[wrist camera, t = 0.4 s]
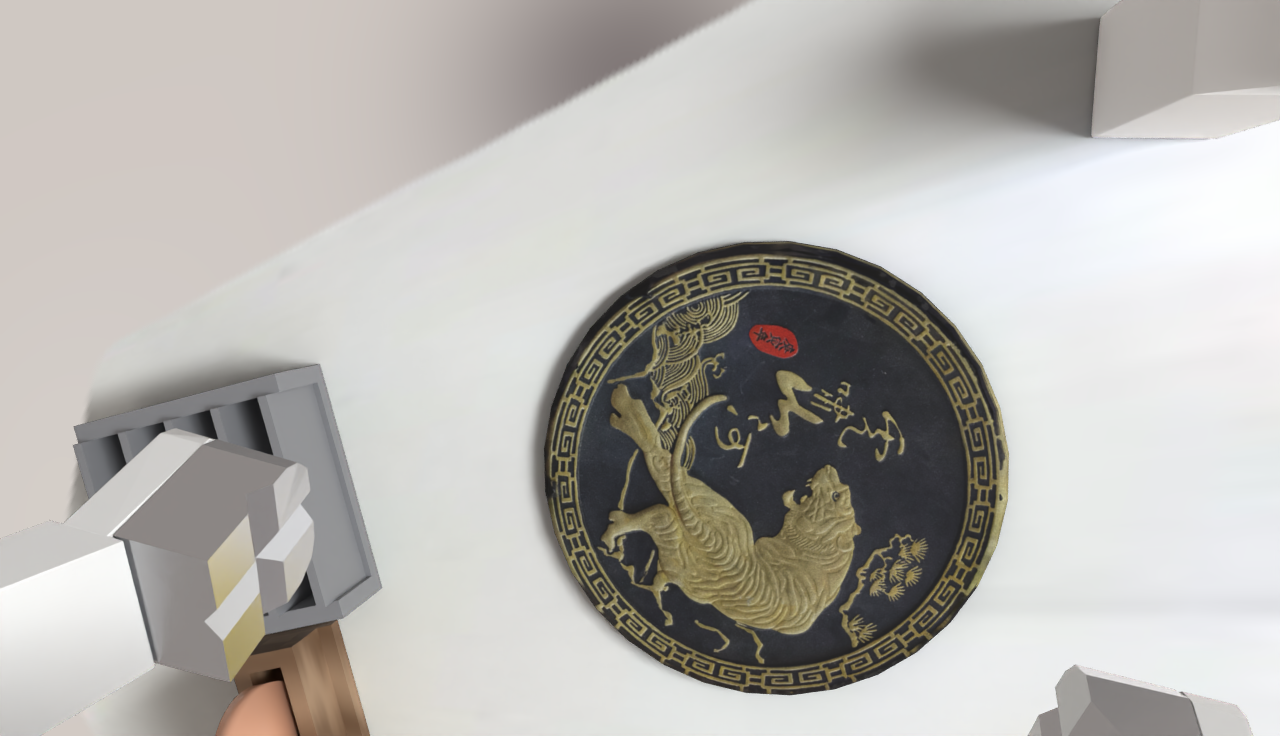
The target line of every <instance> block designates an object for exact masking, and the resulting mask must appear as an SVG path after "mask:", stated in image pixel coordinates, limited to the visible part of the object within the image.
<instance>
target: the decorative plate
mask: <svg viewBox="0 0 1280 736" xmlns="http://www.w3.org/2000/svg"><path fill="white" fill-rule="evenodd" d="M544 457H545V492H546V496H547V501H548V505H549V510H550V514H551V519H552V523H553V528H554V532H555V535H556V537H557V540H558V542H559V544H560V547H561V549H562V551H563V553H564V556H565V558H566V560H567V563H568V565H569V567H570V569H571V572H572V574H573V575H574V577H575V578H576V579H577V581H578V582H579V584H580V585H581V587H582V588H583V590H584V591H585V593H586V594H587V596H588V597H589V598H590V600H591V601H592V603H593V604H594V606H595V607H596V609H597V610H598V611H599V612H600V613H601V614H602V615H603V616H604V617H605V618H606V619H607V620H608V621H609V622H610V623H611V624H612V625H613V626H614V627H615V628H616V629H617V630H618V631H619V632H620V633H621V634H622V635H623V636H624V637H625V638H626V639H627V640H629V641H630V642H632V643H633V644H635V645H636V646H637V647H639V648H640V649H642V650H643V651H645V652H646V653H648V654H649V655H650V656H652V657H653V658H655V659H656V660H658V661H659V662H661V663H662V664H664V665H666V666H668V667H670V668H673V669H675V670H677V671H679V672H681V673H684V674H686V675H688V676H690V677H693V678H695V679H697V680H699V681H702V682H704V683H708V684H712V685H716V686H721V687H725V688H729V689H733V690H737V691H741V692H745V693H760V694H778V695H796V694H803V693H810V692H818V691H825V690H833V689H837V688H840V687H843V686H846V685H849V684H852V683H855V682H858V681H861V680H864V679H867V678H870V677H873V676H876V675H878V674H880V673H882V672H883V671H885V670H887V669H888V668H890V667H892V666H894V665H895V664H897V663H899V662H901V661H902V660H904V659H906V658H908V657H909V656H911V655H913V654H915V653H916V652H918V651H919V650H920V649H921V648H922V647H923V646H924V645H925V644H927V643H928V642H929V641H930V640H931V639H932V638H933V637H935V636H936V635H937V634H938V633H939V632H940V631H941V630H943V629H944V628H945V627H946V626H947V625H948V624H949V623H950V622H951V621H952V620H953V618H954V617H955V616H956V614H957V613H958V612H959V610H960V609H961V608H962V606H963V605H964V604H965V602H966V601H967V600H968V599H969V597H970V596H971V595H972V593H973V592H974V591H975V589H976V588H977V586H978V584H979V582H980V580H981V578H982V576H983V574H984V572H985V569H986V567H987V565H988V563H989V561H990V559H991V557H992V555H993V552H994V550H995V548H996V546H997V543H998V539H999V535H1000V531H1001V526H1002V522H1003V518H1004V514H1005V510H1006V505H1007V501H1008V467H1009V452H1008V447H1007V442H1006V436H1005V431H1004V426H1003V421H1002V415H1001V410H1000V407H999V404H998V402H997V399H996V397H995V395H994V392H993V390H992V387H991V385H990V383H989V380H988V378H987V375H986V373H985V371H984V368H983V366H982V364H981V362H980V361H979V359H978V358H977V357H976V355H975V354H974V352H973V351H972V349H971V348H970V346H969V345H968V343H967V342H966V340H965V339H964V337H963V336H962V335H961V333H960V332H959V330H958V329H957V327H956V326H955V325H954V324H953V323H952V322H951V321H950V320H949V319H948V318H947V317H946V316H945V315H944V314H943V313H942V312H941V311H940V310H939V309H938V308H937V307H936V306H935V305H934V304H933V303H932V302H931V301H930V300H928V299H927V298H926V297H925V296H924V295H923V294H922V293H921V292H920V291H918V290H917V289H915V288H913V287H912V286H910V285H909V284H907V283H906V282H904V281H903V280H901V279H899V278H898V277H896V276H895V275H893V274H892V273H890V272H889V271H887V270H885V269H884V268H882V267H881V266H878V265H875V264H873V263H870V262H868V261H865V260H863V259H860V258H857V257H855V256H852V255H850V254H847V253H845V252H842V251H839V250H837V249H831V248H825V247H820V246H814V245H808V244H803V243H797V242H791V241H783V242H743V243H739V244H734V245H730V246H725V247H721V248H716V249H712V250H707V251H703V252H698V253H696V254H694V255H692V256H689V257H687V258H685V259H683V260H680V261H678V262H676V263H673V264H671V265H669V266H667V267H664V268H662V269H660V270H658V271H656V272H655V273H653V274H652V275H650V276H649V277H647V278H646V279H645V280H643V281H642V282H640V283H639V284H637V285H636V286H635V287H633V288H632V289H630V290H629V291H627V292H626V293H625V294H623V295H622V296H620V298H619V299H618V300H617V301H616V302H615V303H614V304H613V305H612V306H611V307H610V308H609V309H608V310H607V311H606V312H605V313H604V314H603V315H602V316H601V318H600V319H599V320H598V321H597V322H596V323H595V324H594V325H593V326H592V327H591V328H590V330H589V331H588V333H587V334H586V336H585V337H584V339H583V341H582V342H581V344H580V345H579V347H578V349H577V350H576V352H575V353H574V355H573V357H572V358H571V360H570V361H569V363H568V364H567V367H566V369H565V372H564V375H563V377H562V380H561V383H560V385H559V388H558V391H557V393H556V396H555V398H554V401H553V404H552V406H551V412H550V418H549V424H548V430H547V436H546V442H545V448H544Z"/></svg>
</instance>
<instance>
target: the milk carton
mask: <svg viewBox="0 0 1280 736" xmlns="http://www.w3.org/2000/svg"><path fill="white" fill-rule="evenodd" d="M1278 120H1280V0H1121V1H1120V2H1119V3H1118V4H1116V5H1115V6H1114V7H1113V8H1111V9H1110V10H1109V11H1108V12H1106V13H1105V14H1104V15H1103V16H1102V17H1101V19H1100V27H1099V39H1098V51H1097V64H1096V77H1095V89H1094V102H1093V115H1092V129H1091V136H1092V137H1093V138H1182V139H1218V138H1221V137H1225V136H1228V135H1231V134H1235V133H1238V132H1241V131H1245V130H1248V129H1251V128H1255V127H1258V126H1261V125H1264V124H1268V123H1271V122H1274V121H1278Z"/></svg>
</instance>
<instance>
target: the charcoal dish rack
mask: <svg viewBox="0 0 1280 736" xmlns="http://www.w3.org/2000/svg"><path fill="white" fill-rule="evenodd" d="M174 428H177V429H180V430H184V431H187V432H191V433H194V434H198V435H201V436H205V437H208V438H211V439H215V440H216V439H218V440H221V441H225V442H228V443H232V444H235V445H239V446H242V447H246V448H249V449H253V450H256V451H259V452H263V453H266V454H270V455H273V456H277V457H280V458H284V459H287V460H291V461H294V462H298V463H300V464H301V465H303V466H305V467H307V470H308V477H309V484H310V492H309V493H308V495H307V496H306V497H305V499H304V500H303V501H302V502H301V505H302V507H303V508H304V509H305V511H306V512H307V513H308V515H309V516H310V517H311V518H312V520H313V523H314V536H315V538H314V545H313V552H312V558H311V560H310V563H309V565H308V568H307V570H306V573H305V575H304V578H303V580H302V582H301V584H300V585H299V587H298V588H297V590H296V591H295V593H294V594H293V596H292V597H291V598H290V600H289V601H288V603H286V604H283V605H281V606H279V607H277V608H275V609H273V610H271V611H269V612H267V613H265V614H263V616H264V625H265V635H266V634H271V633H276V632H280V631H285V630H290V629H295V628H299V627H304V626H309V625H314V624H318V623H323V622H328V621H333V620H337V619H342V618H344V617H346V616H347V615H348V614H350V613H351V612H352V611H353V610H355V609H356V608H357V607H358V606H360V605H361V604H362V603H364V602H365V601H366V600H367V599H369V598H370V597H371V596H372V595H374V594H375V593H376V592H378V591H379V590H380V589H381V588H382V585H381V582H380V578H379V575H378V571H377V567H376V564H375V560H374V557H373V553H372V550H371V546H370V542H369V539H368V535H367V532H366V528H365V524H364V521H363V517H362V514H361V510H360V506H359V503H358V499H357V496H356V492H355V489H354V485H353V481H352V478H351V474H350V471H349V467H348V463H347V460H346V456H345V453H344V449H343V445H342V442H341V438H340V435H339V431H338V428H337V424H336V420H335V417H334V413H333V410H332V406H331V402H330V399H329V395H328V392H327V388H326V384H325V381H324V377H323V374H322V370H321V367H320V364H319V365H314V366H309V367H304V368H299V369H294V370H289V371H285V372H280V373H275V374H271V375H267V376H263V377H260V378H256V379H252V380H248V381H244V382H241V383H237V384H233V385H229V386H225V387H222V388H218V389H214V390H210V391H206V392H202V393H199V394H195V395H191V396H187V397H183V398H180V399H176V400H172V401H168V402H164V403H161V404H157V405H153V406H149V407H145V408H142V409H138V410H134V411H130V412H126V413H123V414H119V415H115V416H111V417H107V418H104V419H100V420H96V421H92V422H88V423H85V424H81V425H77V426H74V429H75V433H76V436H77V440H78V443H79V444H75V445H73V447H74V450H75V454H76V458H77V461H78V464H79V468H80V471H81V474H82V478H83V481H84V484H85V488H86V491H87V495H88V498H89V499H90V498H91V497H92V496H93V495H94V494H95V493H96V492H97V491H98V490H100V489H101V488H102V487H103V486H104V485H105V484H106V483H107V482H108V481H109V480H110V479H111V478H112V477H114V476H115V475H116V474H117V473H118V472H119V471H120V470H121V469H122V468H123V467H124V466H125V465H127V464H128V463H129V462H130V461H131V460H132V459H133V458H134V457H135V456H136V455H137V454H138V453H139V452H141V451H142V450H143V449H144V448H145V447H146V446H147V445H148V444H149V443H150V442H151V441H152V440H153V439H155V438H156V437H157V436H158V435H159V434H160V433H163V432H166V431H169V430H171V429H174Z"/></svg>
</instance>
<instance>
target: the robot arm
mask: <svg viewBox="0 0 1280 736" xmlns="http://www.w3.org/2000/svg"><path fill="white" fill-rule="evenodd" d="M309 492H310V484H309V477H308V470H307V467H305V466H303V465H301V464H300V463H298V462H294V461H291V460H287V459H284V458H280V457H277V456H273V455H270V454H266V453H263V452H259V451H256V450H253V449H249V448H246V447H242V446H239V445H235V444H232V443H228V442H225V441H221V440H218V439H216V440H215V439H211V438H208V437H205V436H201V435H198V434H194V433H191V432H187V431H184V430H180V429H177V428H174V429H171V430H169V431H166V432H163V433H160V434H159V435H158V436H157V437H156V438H155V439H153V440H152V441H151V442H150V443H149V444H148V445H147V446H146V447H145V448H144V449H143V450H142V451H141V452H139V453H138V454H137V455H136V456H135V457H134V458H133V459H132V460H131V461H130V462H129V463H128V464H127V465H125V466H124V467H123V468H122V469H121V470H120V471H119V472H118V473H117V474H116V475H115V476H114V477H112V478H111V479H110V480H109V481H108V482H107V483H106V484H105V485H104V486H103V487H102V488H101V489H100V490H98V491H97V492H96V493H95V494H94V495H93V496H92V497H91V498H90V499H89V500H88V501H87V502H86V503H84V504H83V505H82V506H81V507H80V508H79V509H78V510H77V511H76V512H75V513H74V514H73V515H72V516H70V517H69V518H68V519H67V520H66V521H65V522H64V523H63V524H62V523H58V522H54V521H47V522H44V523H41V524H39V525H36V526H33V527H30V528H28V529H25V530H22V531H19V532H16V533H14V534H11V535H8V536H5V537H2V538H0V736H41V735H43V734H45V733H46V732H48V731H50V730H51V729H53V728H55V727H56V726H58V725H60V724H61V723H63V722H65V721H66V720H68V719H70V718H71V717H73V716H75V715H76V714H78V713H80V712H81V711H83V710H85V709H86V708H88V707H90V706H92V705H93V704H95V703H97V702H98V701H100V700H102V699H103V698H105V697H107V696H108V695H110V694H112V693H113V692H115V691H117V690H118V689H120V688H122V687H123V686H125V685H127V684H128V683H130V682H132V681H133V680H135V679H137V678H138V677H140V676H142V675H143V674H145V673H147V672H148V671H150V670H152V669H153V668H154V667H155V664H154V663H158V664H161V665H165V666H169V667H173V668H177V669H181V670H184V671H188V672H192V673H196V674H200V675H204V676H207V677H211V678H215V679H219V680H223V681H227V682H231V681H232V680H233V678H234V677H235V675H236V674H237V673H238V671H239V670H240V668H241V667H242V666H243V664H244V663H245V662H246V660H247V659H248V657H249V656H250V655H251V653H252V652H253V650H254V649H255V648H256V646H257V645H258V643H259V642H260V641H261V639H262V638H263V637H264V635H265V625H264V616H263V614H265V613H267V612H269V611H271V610H273V609H275V608H277V607H279V606H281V605H283V604H286V603H288V601H289V600H290V598H291V597H292V596H293V594H294V593H295V591H296V590H297V588H298V587H299V585H300V584H301V582H302V580H303V578H304V575H305V573H306V570H307V568H308V565H309V563H310V560H311V558H312V552H313V545H314V538H315V536H314V523H313V520H312V518H311V517H310V516H309V515H308V513H307V512H306V511H305V509H304V508H303V507H302V505H301V502H302V501H303V500H304V499H305V497H306V496H307V495H308V493H309ZM1055 690H1056V696H1057V703H1058V708H1055V709H1053V710H1050V711H1048V712H1045V713H1043V714H1041V715H1039V716H1038V718H1037V719H1036V721H1035V723H1034V725H1033V727H1032V729H1031V731H1030V733H1029V734H1028V736H1253V733H1252V731H1251V728H1250V725H1249V722H1248V719H1247V717H1246V715H1245V714H1244V713H1243V712H1242V711H1241V709H1240V708H1239V707H1238V706H1237V705H1234V704H1230V703H1226V702H1222V701H1218V700H1214V699H1210V698H1206V697H1202V696H1198V695H1194V694H1190V693H1186V692H1178V691H1176V690H1174V689H1171V688H1167V687H1163V686H1159V685H1155V684H1151V683H1147V682H1143V681H1139V680H1135V679H1131V678H1127V677H1123V676H1119V675H1115V674H1111V673H1107V672H1103V671H1099V670H1095V669H1091V668H1087V667H1083V666H1079V665H1074V666H1073V667H1071V668H1070V669H1068V670H1067V671H1065V673H1064V674H1063V676H1062V677H1061V679H1060V681H1059V682H1058V684H1057V685H1056V687H1055Z"/></svg>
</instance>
